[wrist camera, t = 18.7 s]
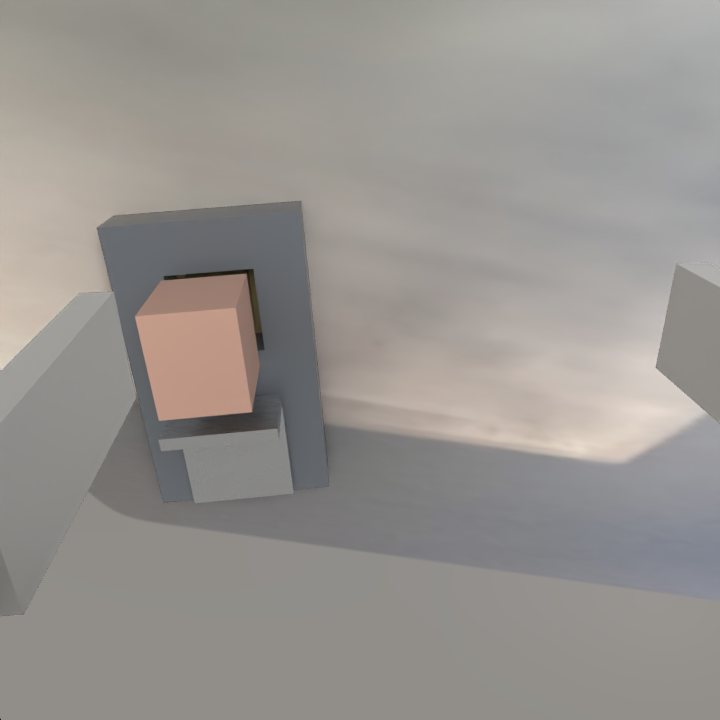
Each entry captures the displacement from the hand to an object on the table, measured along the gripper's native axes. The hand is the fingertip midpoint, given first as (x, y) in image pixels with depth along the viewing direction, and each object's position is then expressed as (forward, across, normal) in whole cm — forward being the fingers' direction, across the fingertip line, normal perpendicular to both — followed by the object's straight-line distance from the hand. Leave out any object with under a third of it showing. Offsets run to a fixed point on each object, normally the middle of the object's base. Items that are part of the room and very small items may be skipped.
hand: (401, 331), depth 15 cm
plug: (+27, -9, -8) cm, 30 cm away
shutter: (+23, -8, -18) cm, 30 cm away
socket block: (+27, -8, -12) cm, 31 cm away
